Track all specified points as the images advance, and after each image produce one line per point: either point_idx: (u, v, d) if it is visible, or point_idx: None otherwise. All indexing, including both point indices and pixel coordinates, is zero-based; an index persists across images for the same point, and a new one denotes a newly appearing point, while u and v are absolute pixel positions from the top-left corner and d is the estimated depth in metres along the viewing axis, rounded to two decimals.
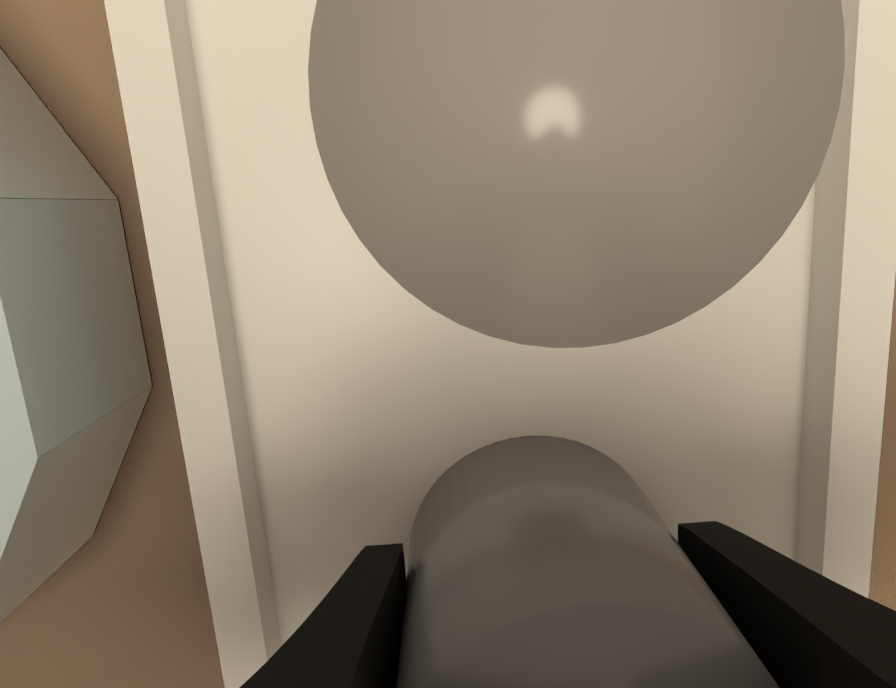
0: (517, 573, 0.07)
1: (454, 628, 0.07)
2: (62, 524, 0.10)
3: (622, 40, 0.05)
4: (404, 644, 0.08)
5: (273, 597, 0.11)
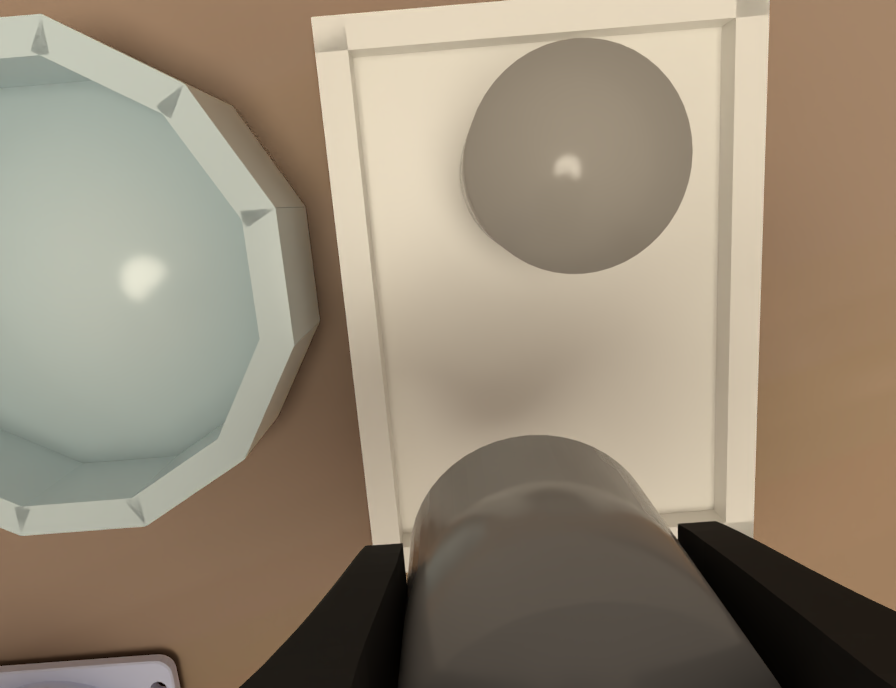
0: (519, 572, 0.07)
1: (457, 626, 0.07)
2: (279, 397, 0.17)
3: (598, 141, 0.12)
4: (405, 643, 0.08)
5: (393, 450, 0.18)
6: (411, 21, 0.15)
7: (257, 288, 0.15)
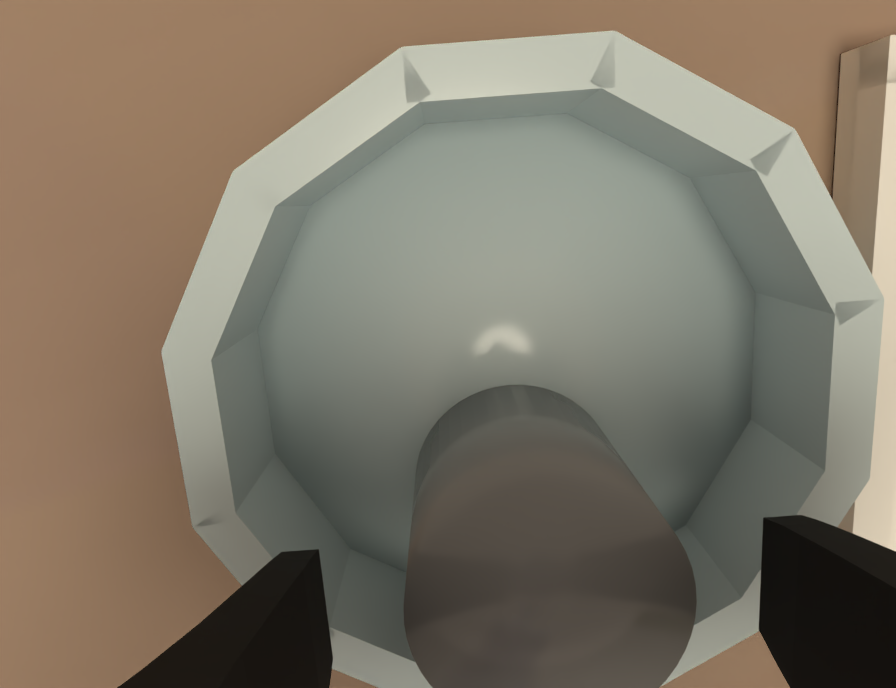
0: (496, 464, 0.10)
1: (451, 501, 0.09)
2: None
3: None
4: (413, 526, 0.11)
5: None
6: None
7: (837, 405, 0.11)
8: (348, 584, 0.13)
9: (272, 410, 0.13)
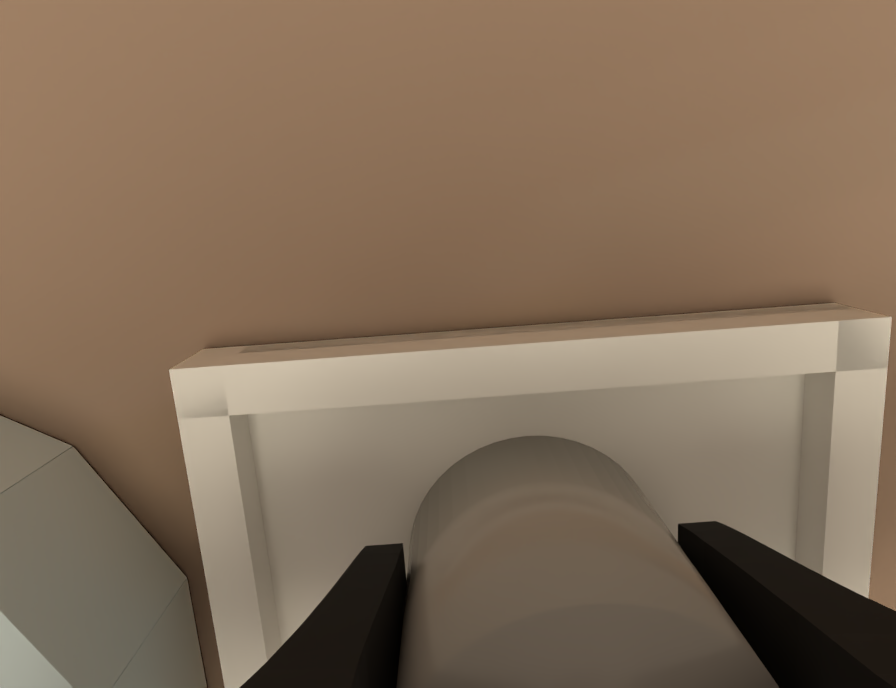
0: None
1: None
2: None
3: None
4: None
5: None
6: (327, 375, 0.10)
7: None
8: None
9: None
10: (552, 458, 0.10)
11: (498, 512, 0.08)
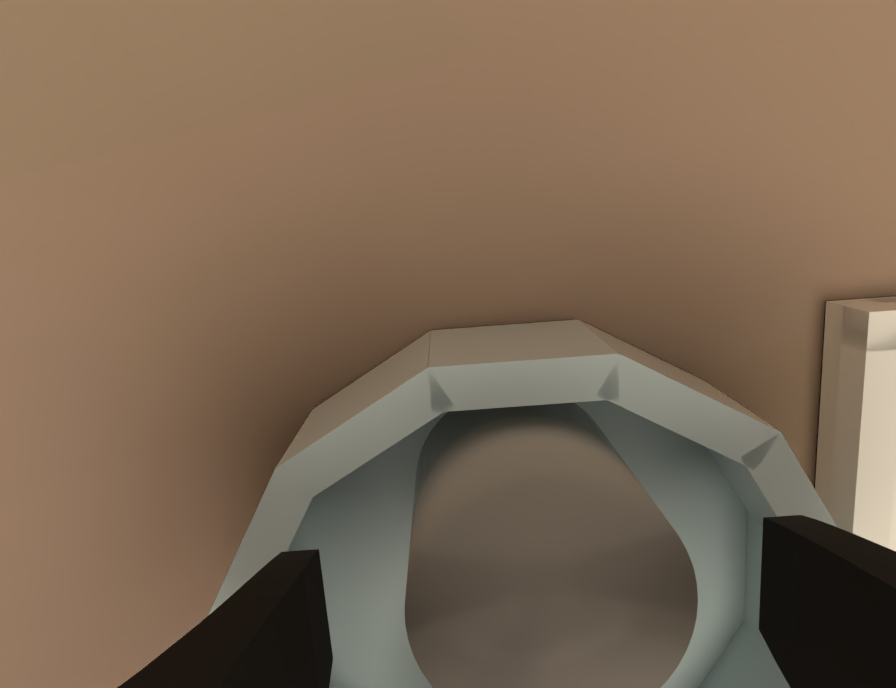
0: None
1: None
2: None
3: (575, 590, 0.09)
4: None
5: None
6: None
7: None
8: None
9: None
10: None
11: (485, 432, 0.11)
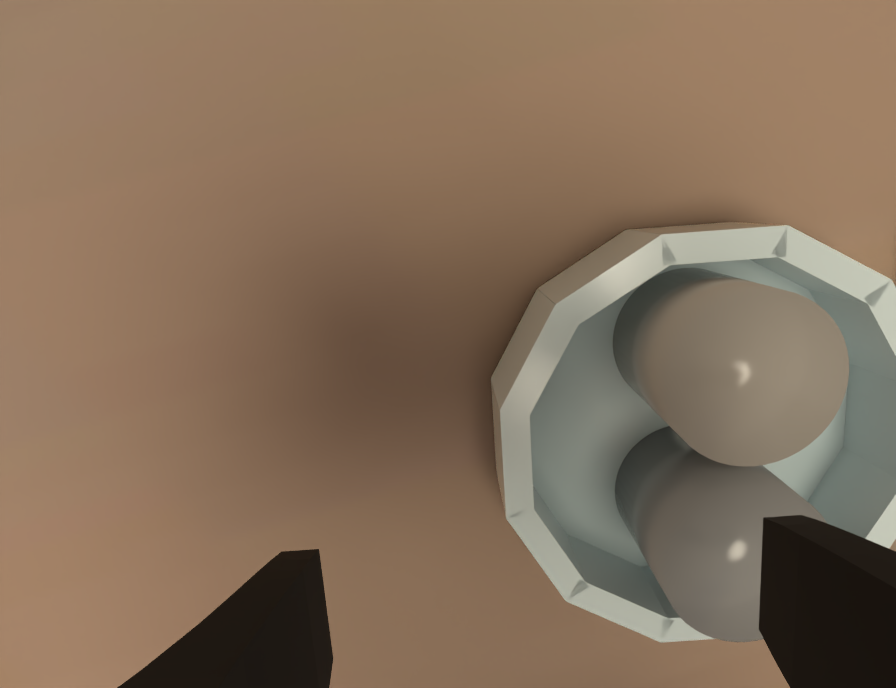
0: (714, 479, 0.16)
1: (691, 500, 0.16)
2: None
3: (772, 365, 0.15)
4: (652, 516, 0.17)
5: None
6: None
7: None
8: (579, 557, 0.20)
9: None
10: (705, 271, 0.18)
11: (691, 283, 0.17)
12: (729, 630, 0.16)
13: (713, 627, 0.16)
